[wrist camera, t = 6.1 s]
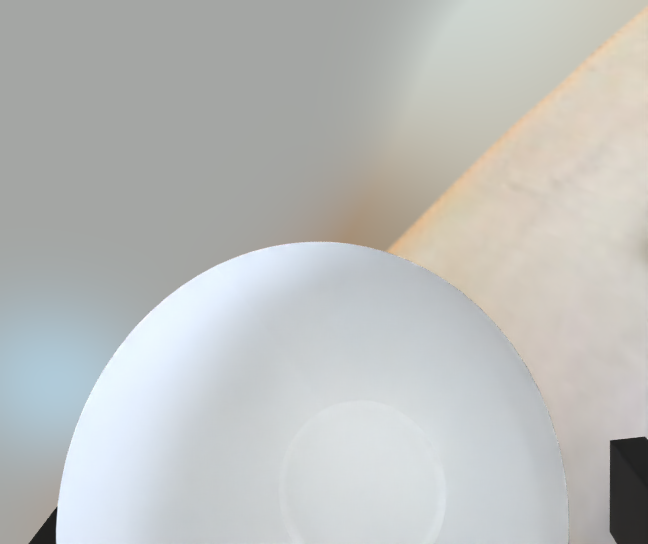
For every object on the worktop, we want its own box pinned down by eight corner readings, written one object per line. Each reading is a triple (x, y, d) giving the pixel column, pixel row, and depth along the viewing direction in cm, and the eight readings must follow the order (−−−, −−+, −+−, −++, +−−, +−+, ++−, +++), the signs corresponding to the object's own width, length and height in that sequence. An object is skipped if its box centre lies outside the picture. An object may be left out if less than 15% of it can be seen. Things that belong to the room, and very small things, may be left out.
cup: (305, 675, 16) (101, 1007, 5) (222, 432, 20) (18, 354, 10) (529, 550, 17) (737, 632, 6) (403, 338, 21) (395, 168, 10)
